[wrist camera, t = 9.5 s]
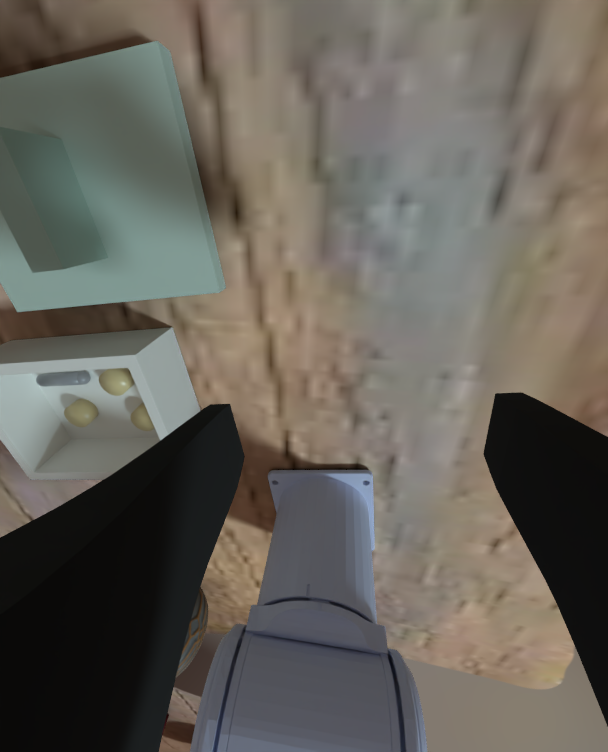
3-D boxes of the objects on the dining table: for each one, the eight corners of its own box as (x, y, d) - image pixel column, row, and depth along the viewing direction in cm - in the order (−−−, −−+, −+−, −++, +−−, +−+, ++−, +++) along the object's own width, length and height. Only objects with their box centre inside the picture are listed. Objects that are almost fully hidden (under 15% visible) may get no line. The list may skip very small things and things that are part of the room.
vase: (204, 612, 38) (169, 715, 30) (150, 591, 37) (100, 693, 29) (225, 589, 35) (192, 698, 27) (167, 565, 34) (115, 672, 26)
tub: (210, 439, 24) (187, 479, 20) (72, 442, 26) (30, 479, 22) (172, 327, 20) (135, 354, 16) (10, 340, 22) (-54, 367, 18)
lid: (229, 285, 18) (196, 310, 14) (40, 304, 20) (-36, 330, 16) (176, 56, 13) (105, -3, 9) (-63, 111, 15) (-205, 80, 11)
